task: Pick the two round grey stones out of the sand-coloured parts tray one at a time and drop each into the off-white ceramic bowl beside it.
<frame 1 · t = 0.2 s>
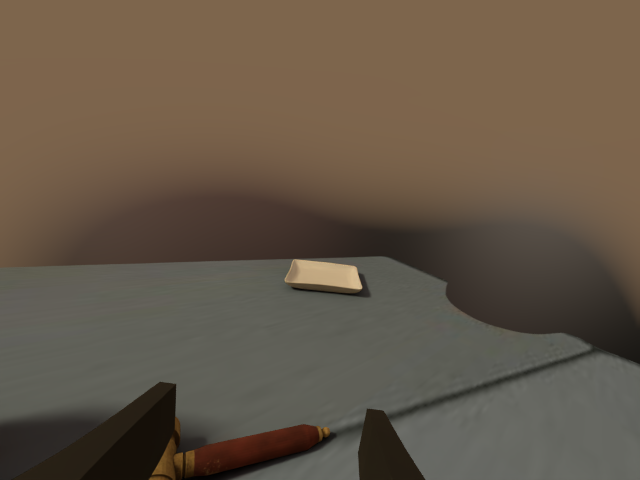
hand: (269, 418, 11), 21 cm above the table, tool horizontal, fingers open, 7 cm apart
gavel: (240, 467, 32), on the table
salad plate: (323, 283, 90), on the table
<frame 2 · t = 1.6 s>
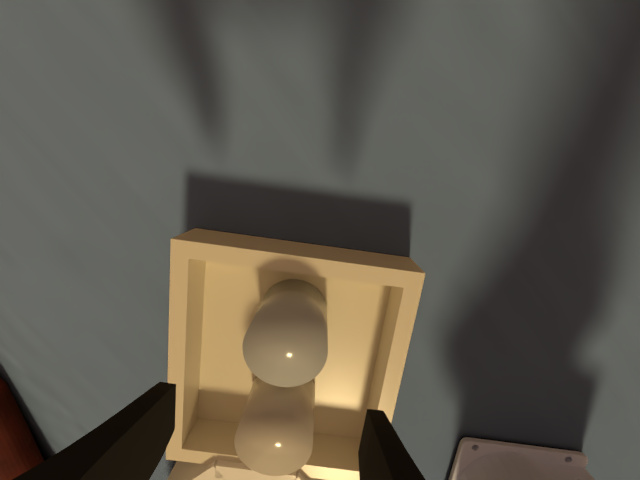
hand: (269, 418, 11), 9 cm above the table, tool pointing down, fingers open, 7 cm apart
stone b: (284, 387, 21), point 1 cm above the table, touching tray
tray: (290, 345, 21), on the table
gavel: (47, 454, 24), on the table
stone a: (294, 310, 20), point 1 cm above the table, touching tray
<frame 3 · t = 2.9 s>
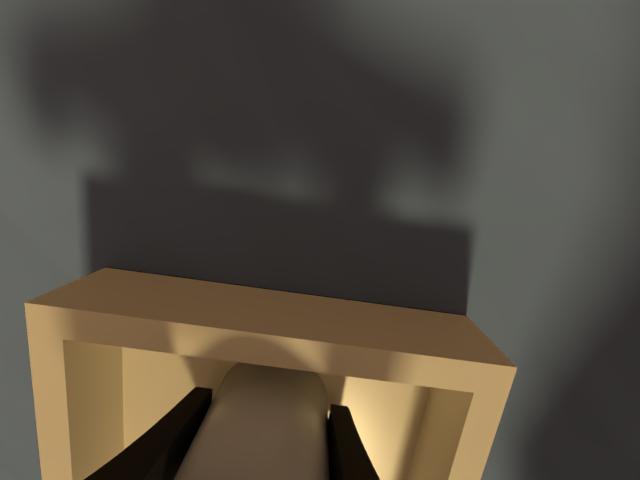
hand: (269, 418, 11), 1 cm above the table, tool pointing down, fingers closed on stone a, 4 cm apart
tray: (268, 449, 13), on the table
stone a: (273, 402, 12), point 1 cm above the table, touching gripper, tray
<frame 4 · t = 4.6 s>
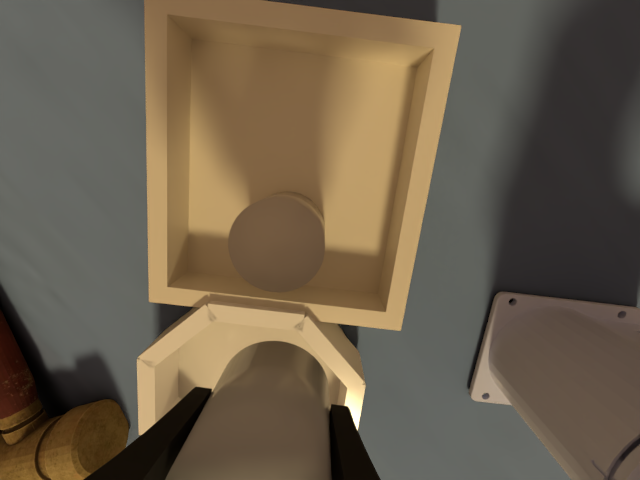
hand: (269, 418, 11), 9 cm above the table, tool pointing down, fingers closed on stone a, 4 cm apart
bowl: (261, 371, 21), on the table
stone b: (288, 228, 18), point 1 cm above the table, touching tray
tray: (294, 177, 18), on the table
gavel: (16, 329, 21), on the table
stone a: (274, 390, 12), point 8 cm above the table, touching gripper
when the fingers open (4 cm above the table, at t = 6.1 s): stone a drops 3 cm, resting on bowl.
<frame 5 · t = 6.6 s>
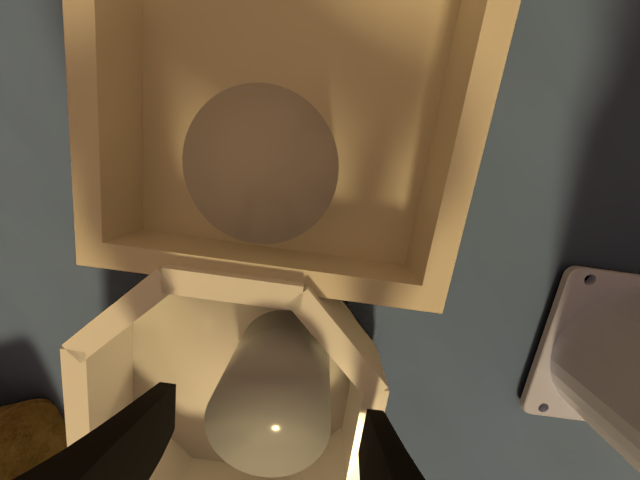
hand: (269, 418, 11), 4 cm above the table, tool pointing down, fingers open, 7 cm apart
bowl: (244, 369, 16), on the table
stone b: (282, 169, 13), point 1 cm above the table, touching tray
tray: (292, 97, 13), on the table
stone a: (284, 350, 15), point 1 cm above the table, touching bowl
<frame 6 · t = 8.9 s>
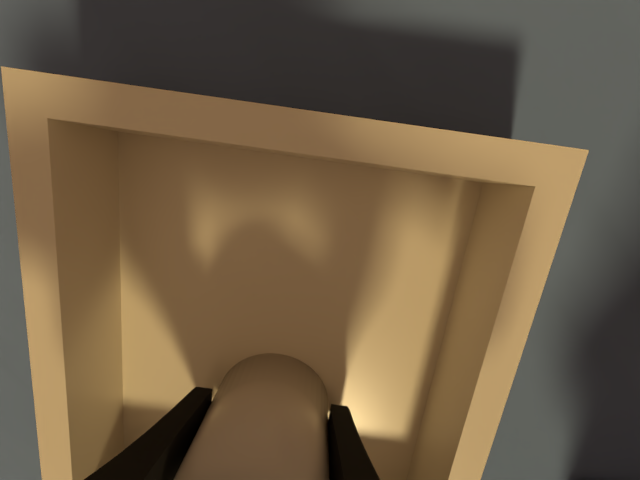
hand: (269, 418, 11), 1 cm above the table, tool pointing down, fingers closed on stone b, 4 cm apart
stone b: (273, 402, 12), point 1 cm above the table, touching gripper, tray
tray: (283, 326, 12), on the table
when the fingers open (4 cm above the table, at t = 12.0 s): stone b drops 3 cm, resting on bowl.
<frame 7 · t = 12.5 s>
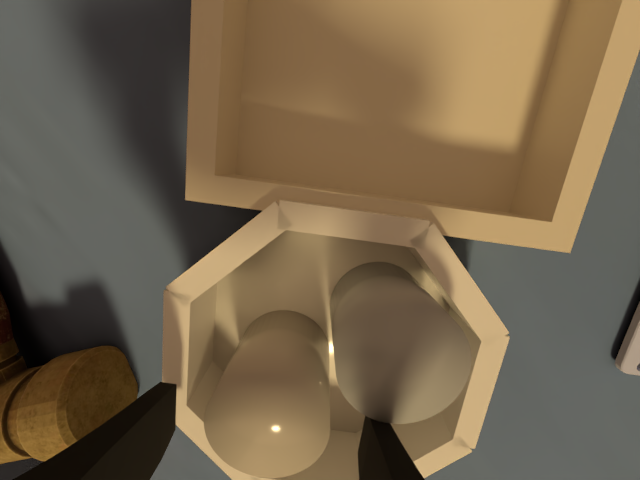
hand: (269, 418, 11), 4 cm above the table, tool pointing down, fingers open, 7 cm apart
bowl: (327, 328, 15), on the table
stone b: (285, 351, 15), point 1 cm above the table, touching bowl
tray: (399, 31, 12), on the table
stone a: (376, 306, 14), point 1 cm above the table, touching bowl, gripper
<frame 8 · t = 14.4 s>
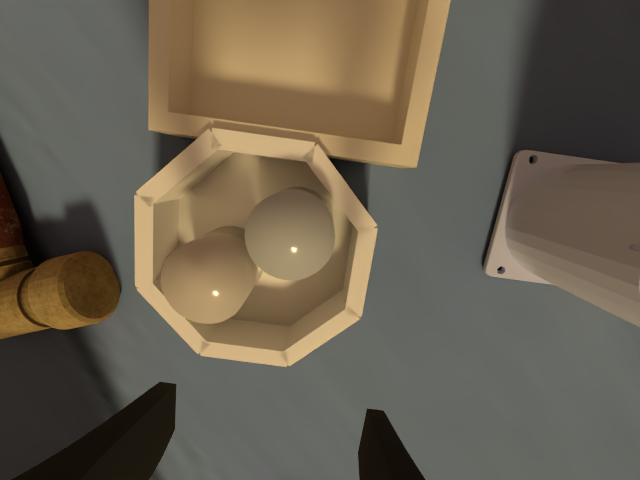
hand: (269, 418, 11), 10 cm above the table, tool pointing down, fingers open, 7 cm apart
bowl: (265, 243, 20), on the table
stone b: (231, 258, 19), point 1 cm above the table, touching bowl
tray: (305, 14, 17), on the table
gavel: (5, 174, 20), on the table
stone a: (298, 222, 19), point 1 cm above the table, touching bowl
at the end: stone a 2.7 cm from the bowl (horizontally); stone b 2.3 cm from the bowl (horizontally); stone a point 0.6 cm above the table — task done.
